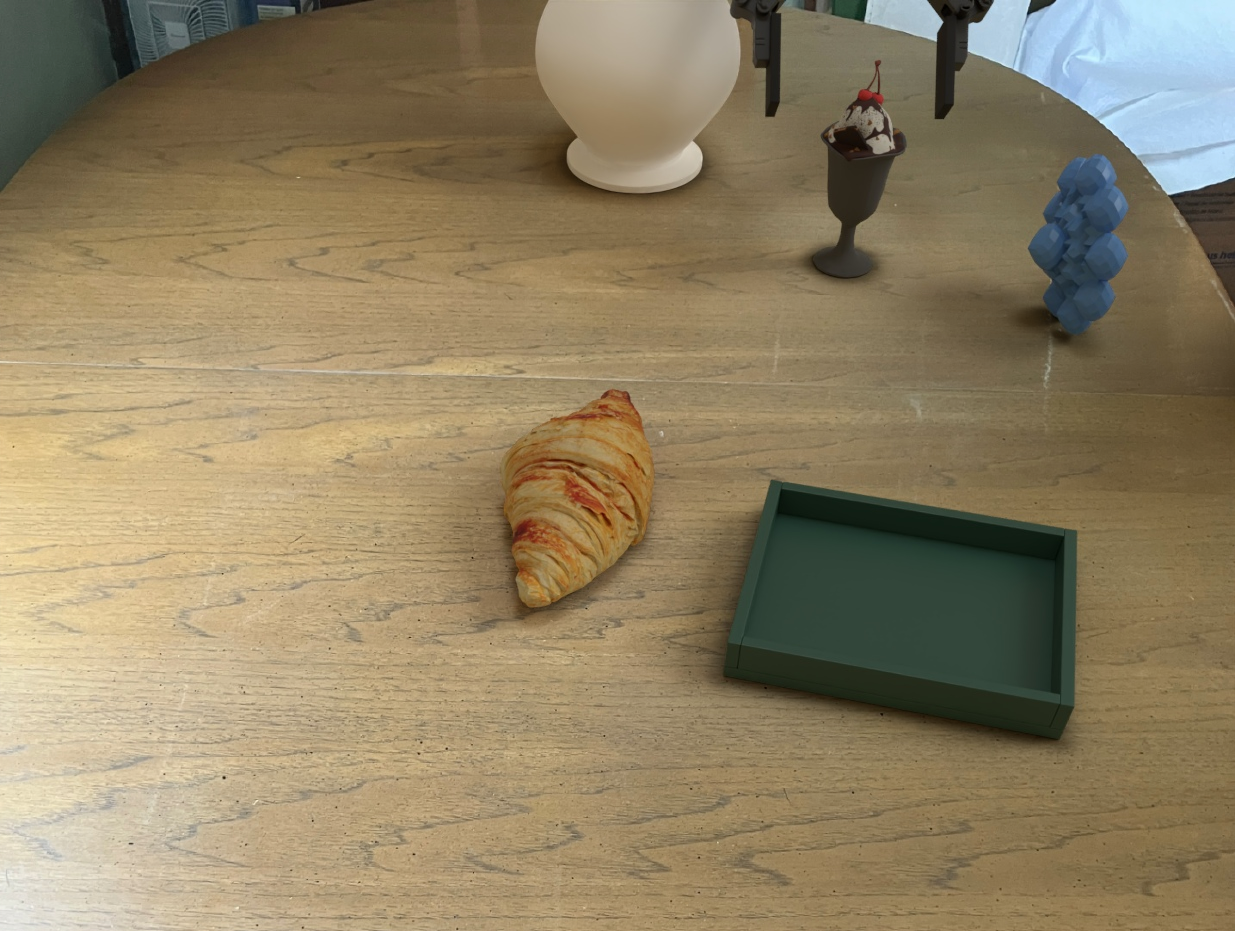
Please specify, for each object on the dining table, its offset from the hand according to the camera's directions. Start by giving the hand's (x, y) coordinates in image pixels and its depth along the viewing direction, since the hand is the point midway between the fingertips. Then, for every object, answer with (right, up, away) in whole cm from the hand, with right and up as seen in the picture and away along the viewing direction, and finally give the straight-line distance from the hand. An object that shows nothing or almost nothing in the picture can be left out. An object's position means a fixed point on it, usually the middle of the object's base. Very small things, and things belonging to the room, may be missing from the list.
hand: (858, 111), depth 97 cm
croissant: (-22, -35, -15) cm, 44 cm away
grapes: (+15, -16, +2) cm, 22 cm away
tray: (-1, -43, -21) cm, 47 cm away
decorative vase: (-17, +5, +17) cm, 25 cm away
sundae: (0, -9, +7) cm, 11 cm away
